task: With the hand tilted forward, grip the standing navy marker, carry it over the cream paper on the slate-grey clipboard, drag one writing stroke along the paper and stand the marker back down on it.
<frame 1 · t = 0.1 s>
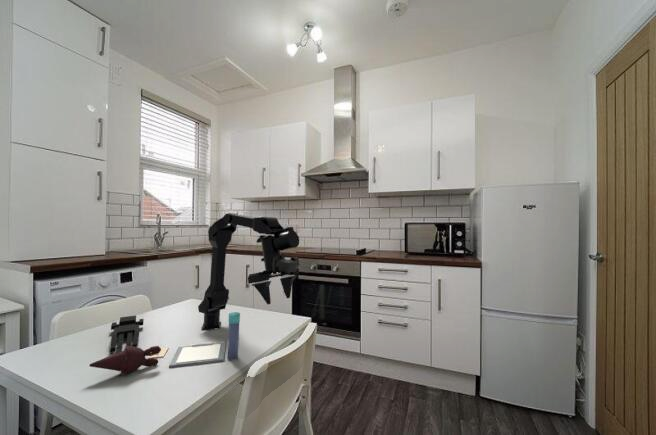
hand: (279, 301, 88), 15 cm above the table, tool pointing down, fingers open, 9 cm apart
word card: (158, 353, 82), on the table
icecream: (126, 373, 71), on the table
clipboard: (199, 354, 82), on the table
marker: (232, 357, 81), on the table
toy: (125, 344, 89), on the table
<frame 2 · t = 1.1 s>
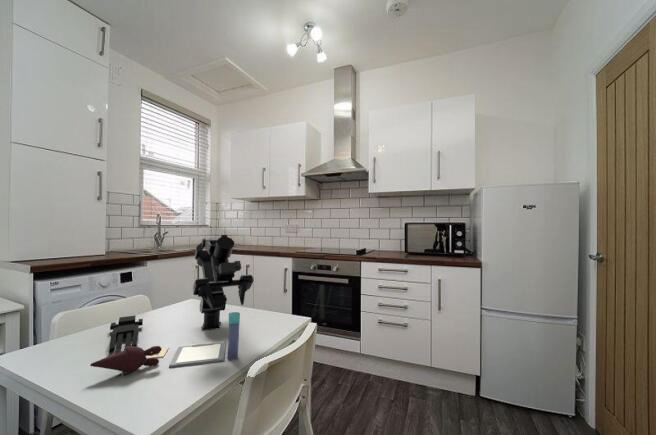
hand: (228, 306, 87), 13 cm above the table, tool tilted 45°, fingers open, 9 cm apart
nothing on the table moved.
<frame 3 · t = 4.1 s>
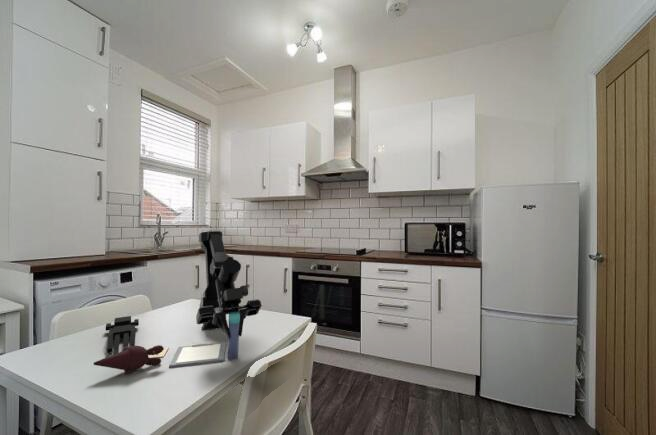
hand: (234, 337, 80), 7 cm above the table, tool tilted 45°, fingers closed on marker, 3 cm apart
marker: (232, 357, 81), on the table, touching gripper
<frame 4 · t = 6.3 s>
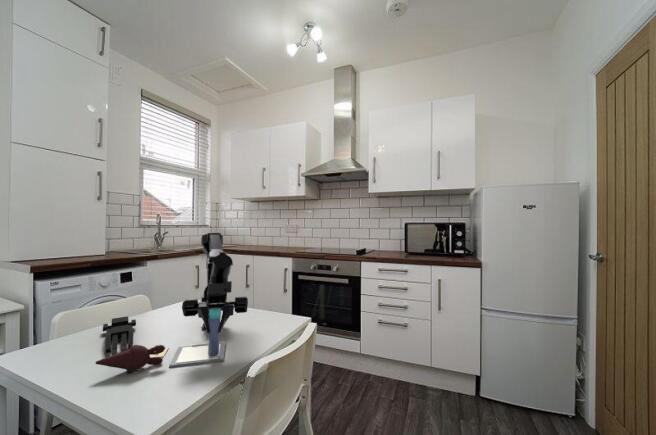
hand: (213, 332, 79), 8 cm above the table, tool tilted 45°, fingers closed on marker, 3 cm apart
marker: (213, 353, 80), point 1 cm above the table, touching gripper
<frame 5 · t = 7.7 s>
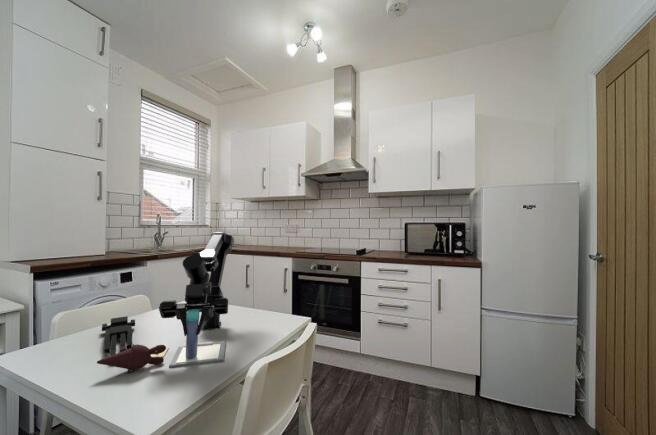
hand: (191, 334, 77), 8 cm above the table, tool tilted 45°, fingers closed on marker, 3 cm apart
marker: (191, 356, 78), point 1 cm above the table, touching gripper
when the fingers open (8 cm above the table, at t = 8.9 s): marker stays where it is, resting on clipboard.
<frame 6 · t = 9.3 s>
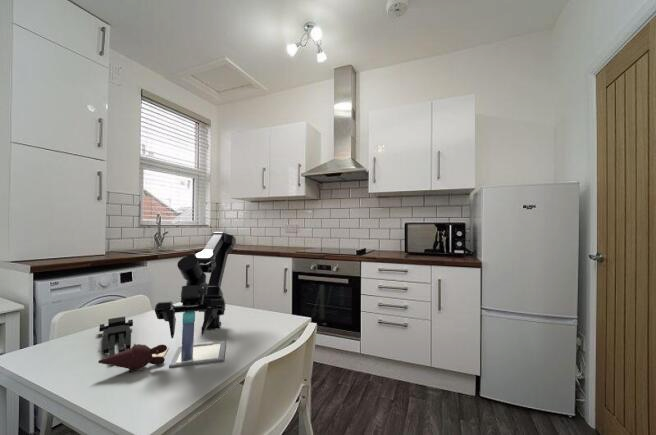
hand: (187, 336, 77), 8 cm above the table, tool tilted 45°, fingers open, 7 cm apart
marker: (187, 358, 78), point 1 cm above the table, touching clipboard
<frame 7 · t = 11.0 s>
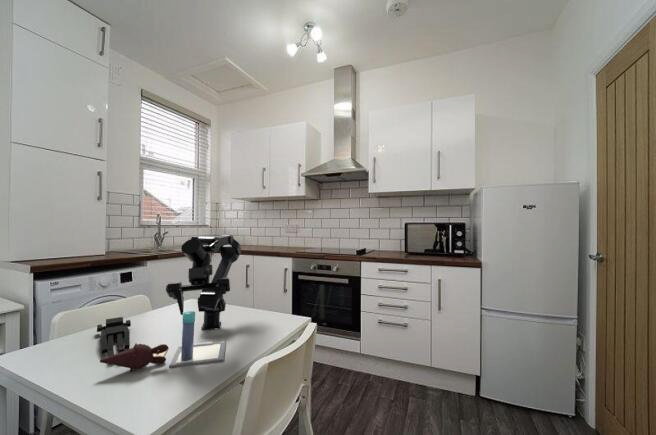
hand: (197, 312, 85), 12 cm above the table, tool tilted 35°, fingers open, 9 cm apart
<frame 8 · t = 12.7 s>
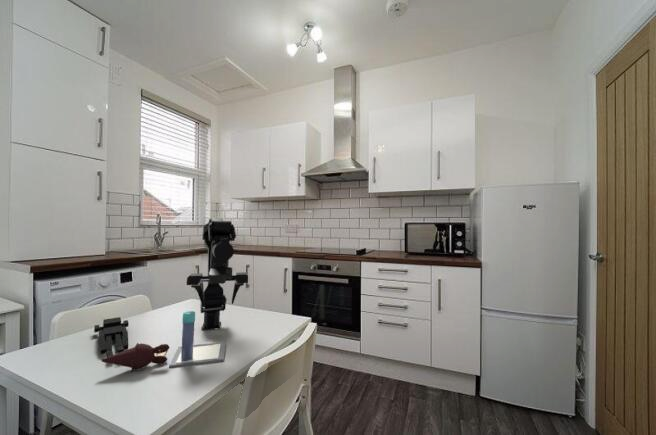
hand: (217, 304, 90), 13 cm above the table, tool pointing down, fingers open, 9 cm apart
at the end: marker inside the target area on the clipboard (4.6 cm from its centre), point 0.8 cm above the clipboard's base; marker moved 12.6 cm from its start; the gripper is holding nothing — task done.
